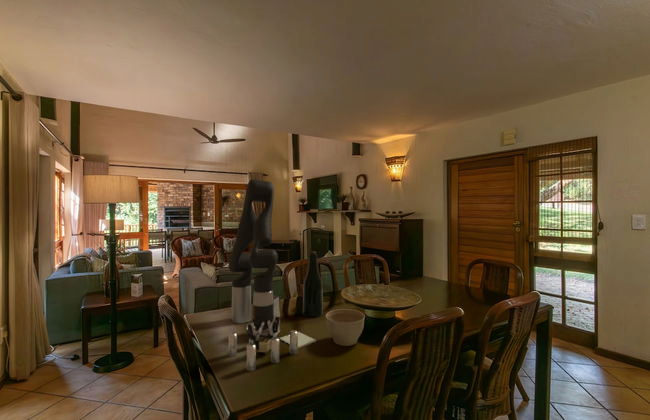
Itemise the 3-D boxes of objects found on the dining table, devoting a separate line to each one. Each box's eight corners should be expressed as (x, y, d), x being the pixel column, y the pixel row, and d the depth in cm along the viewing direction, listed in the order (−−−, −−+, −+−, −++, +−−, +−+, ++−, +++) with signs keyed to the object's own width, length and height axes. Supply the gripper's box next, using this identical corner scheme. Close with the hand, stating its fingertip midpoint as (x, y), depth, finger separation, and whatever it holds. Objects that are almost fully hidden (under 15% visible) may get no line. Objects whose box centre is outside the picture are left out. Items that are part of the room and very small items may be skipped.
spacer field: (225, 353, 116) (226, 332, 116) (273, 338, 130) (273, 319, 130) (250, 373, 102) (250, 349, 102) (300, 353, 116) (300, 332, 116)
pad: (279, 339, 129) (279, 338, 129) (298, 333, 136) (298, 331, 136) (296, 348, 120) (296, 347, 120) (316, 341, 127) (316, 340, 127)
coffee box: (280, 332, 137) (280, 295, 138) (273, 337, 131) (273, 299, 131) (262, 329, 140) (262, 294, 140) (255, 334, 134) (255, 297, 134)
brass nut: (253, 348, 116) (253, 338, 117) (264, 344, 120) (264, 335, 120) (261, 353, 112) (261, 343, 112) (272, 349, 116) (272, 339, 116)
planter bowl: (319, 337, 131) (319, 312, 131) (353, 331, 138) (353, 307, 138) (335, 353, 117) (335, 324, 117) (372, 346, 123) (372, 318, 123)
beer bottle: (298, 314, 161) (298, 251, 161) (312, 310, 168) (312, 250, 169) (313, 319, 154) (313, 253, 154) (326, 314, 162) (327, 251, 162)
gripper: (274, 296, 124) (273, 339, 124) (241, 303, 114) (240, 349, 114) (284, 300, 118) (284, 345, 118) (251, 308, 109) (250, 356, 108)
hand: (262, 347), depth 116 cm, fingers closed on brass nut, 5 cm apart
